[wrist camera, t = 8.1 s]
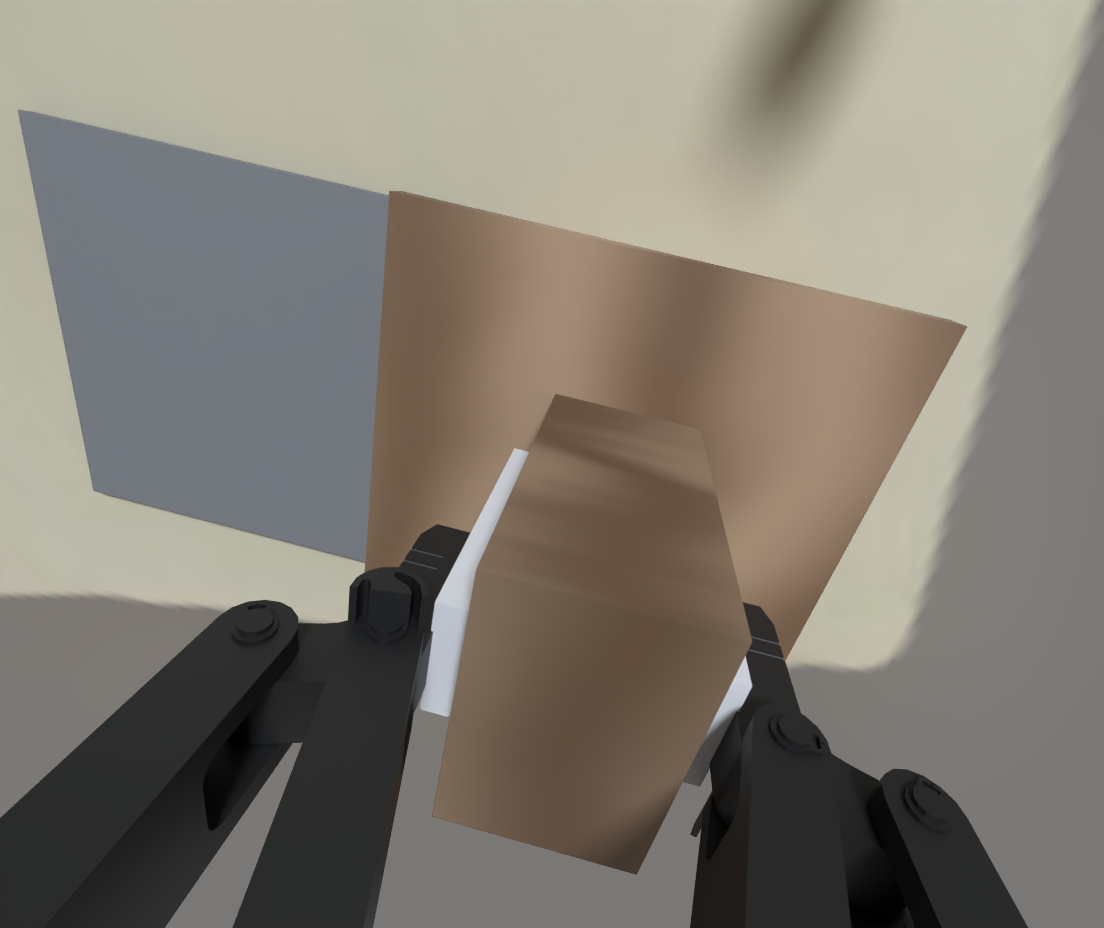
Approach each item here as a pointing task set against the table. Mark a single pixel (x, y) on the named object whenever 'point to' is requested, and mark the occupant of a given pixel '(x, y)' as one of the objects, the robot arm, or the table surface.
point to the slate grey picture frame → (216, 329)
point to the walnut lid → (619, 494)
